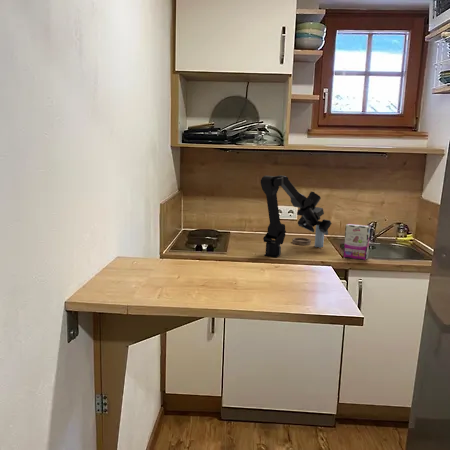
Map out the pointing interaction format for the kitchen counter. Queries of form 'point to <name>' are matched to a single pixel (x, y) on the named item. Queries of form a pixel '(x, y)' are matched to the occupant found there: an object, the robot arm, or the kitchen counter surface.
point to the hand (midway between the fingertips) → (320, 233)
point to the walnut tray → (301, 241)
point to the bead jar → (319, 237)
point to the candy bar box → (356, 241)
